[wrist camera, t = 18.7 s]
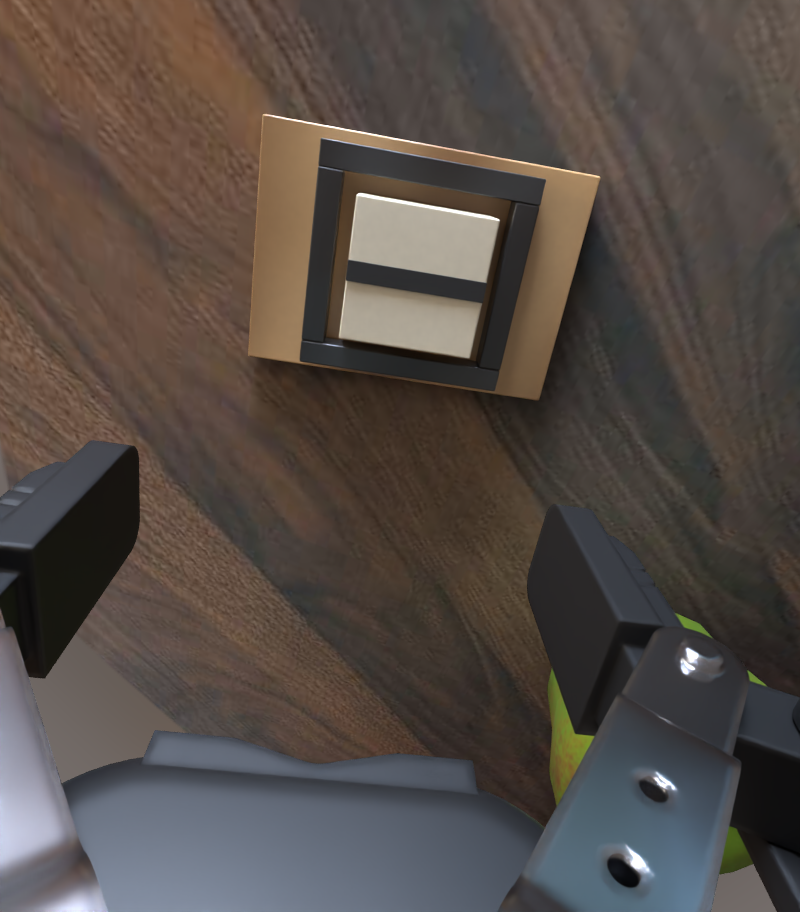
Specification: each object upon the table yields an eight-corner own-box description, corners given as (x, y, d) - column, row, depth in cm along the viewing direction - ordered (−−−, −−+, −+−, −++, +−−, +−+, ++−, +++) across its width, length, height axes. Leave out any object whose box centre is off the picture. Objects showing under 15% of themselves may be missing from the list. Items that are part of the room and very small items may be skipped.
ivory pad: (343, 324, 28) (338, 339, 25) (359, 192, 25) (356, 194, 23) (463, 343, 28) (470, 360, 26) (490, 215, 26) (501, 219, 23)
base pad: (252, 350, 29) (241, 364, 27) (266, 115, 25) (256, 110, 23) (534, 394, 30) (545, 410, 28) (594, 176, 26) (611, 176, 24)
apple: (768, 620, 36) (916, 795, 26) (652, 750, 41) (739, 942, 31) (591, 549, 34) (677, 711, 24) (489, 696, 39) (525, 884, 29)
